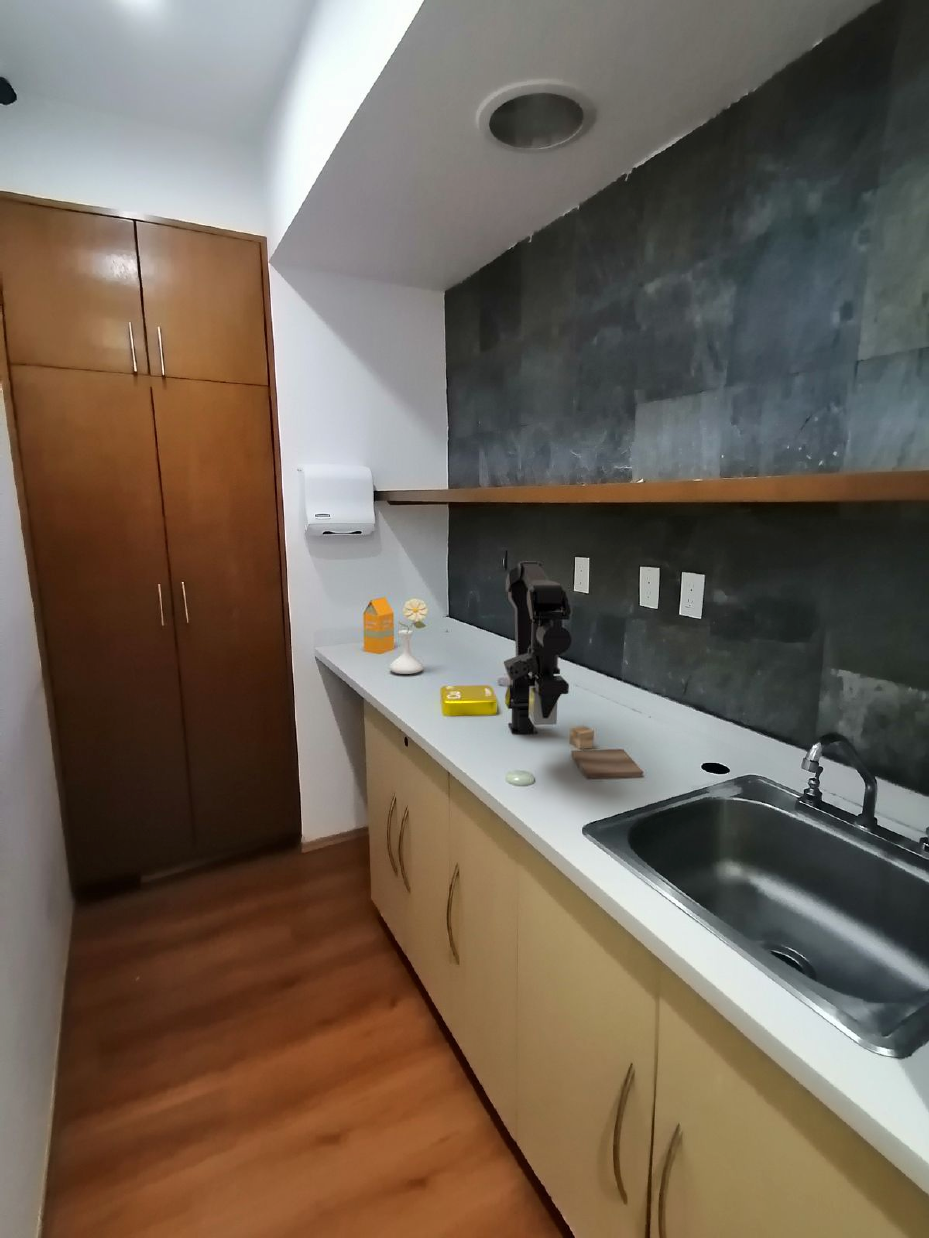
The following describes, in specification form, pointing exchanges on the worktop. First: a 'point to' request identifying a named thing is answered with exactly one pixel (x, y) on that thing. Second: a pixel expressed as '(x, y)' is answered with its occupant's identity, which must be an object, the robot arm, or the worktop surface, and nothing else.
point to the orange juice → (378, 627)
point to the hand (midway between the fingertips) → (542, 713)
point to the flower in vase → (406, 661)
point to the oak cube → (581, 737)
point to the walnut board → (606, 764)
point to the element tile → (468, 700)
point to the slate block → (539, 710)
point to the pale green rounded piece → (519, 778)
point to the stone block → (504, 680)
